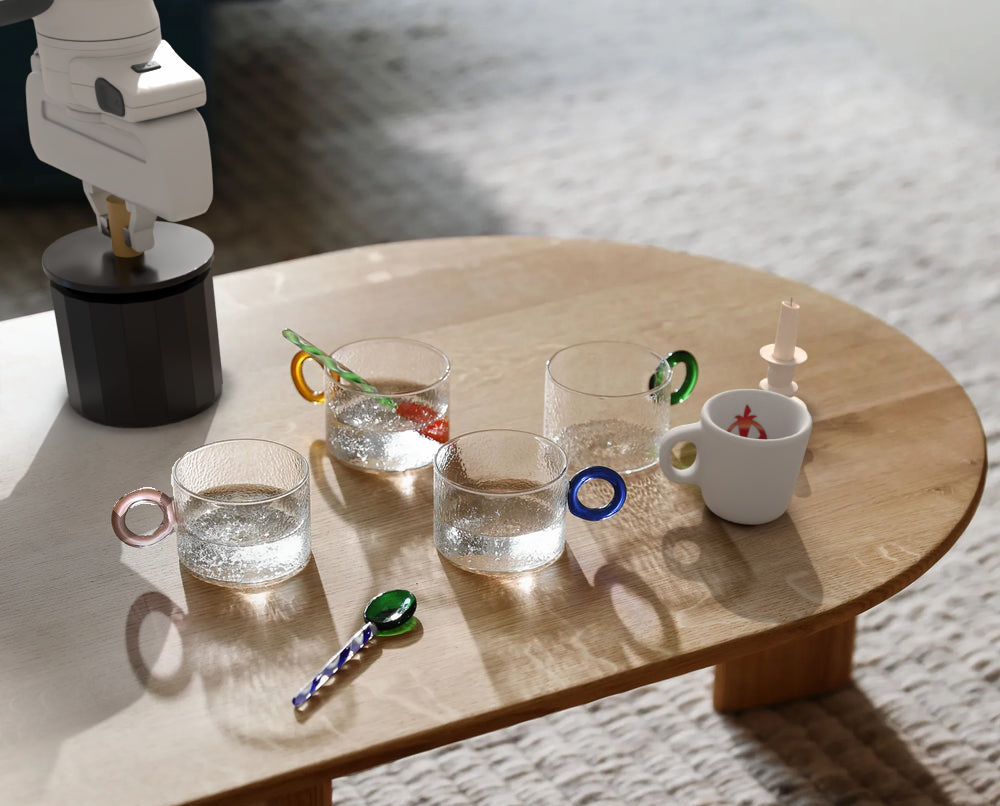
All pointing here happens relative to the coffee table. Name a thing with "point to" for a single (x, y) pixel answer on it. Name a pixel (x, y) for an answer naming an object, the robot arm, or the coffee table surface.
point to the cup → (743, 453)
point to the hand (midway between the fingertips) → (127, 241)
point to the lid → (127, 256)
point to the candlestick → (784, 354)
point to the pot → (140, 352)
